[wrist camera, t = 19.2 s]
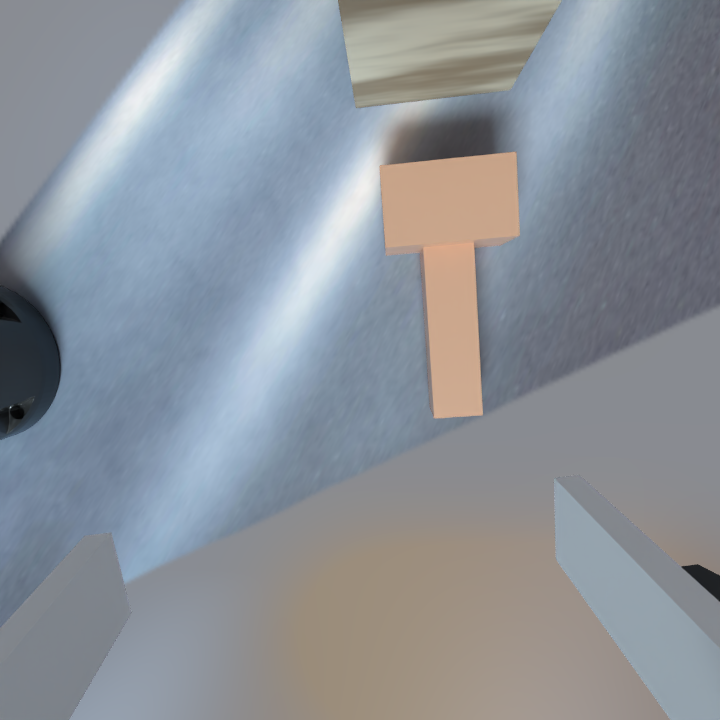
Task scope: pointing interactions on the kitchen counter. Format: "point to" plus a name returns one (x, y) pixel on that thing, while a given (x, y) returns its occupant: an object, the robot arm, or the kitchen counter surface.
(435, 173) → the t block
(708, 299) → the kitchen counter surface
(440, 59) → the pedestal
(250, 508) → the kitchen counter surface
